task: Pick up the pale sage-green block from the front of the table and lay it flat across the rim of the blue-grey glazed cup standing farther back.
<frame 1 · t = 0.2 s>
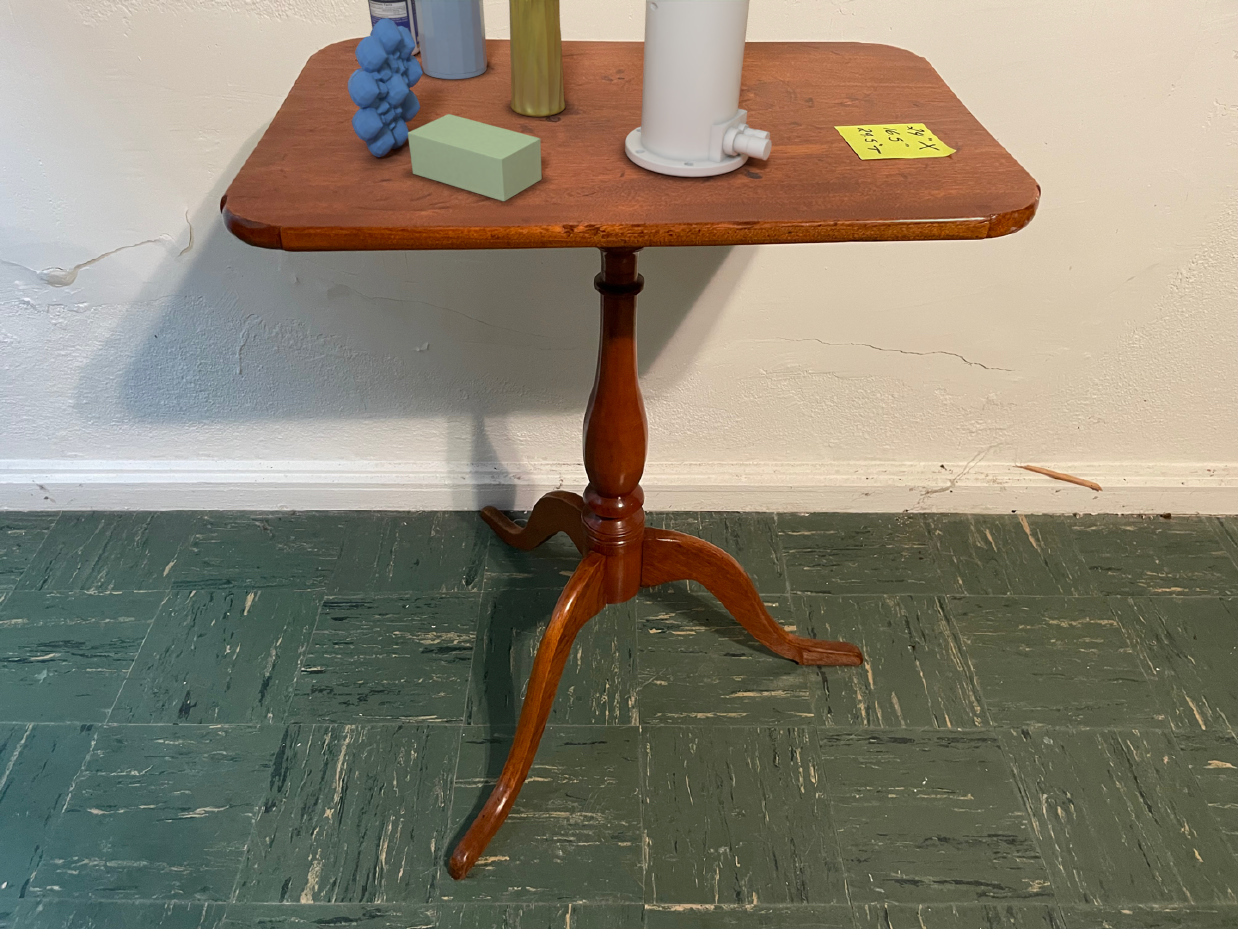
vase: (538, 109, 103), on the table
pill bottle: (398, 53, 117), on the table
grapes: (387, 148, 94), on the table
cup: (454, 68, 113), on the table
pale sage-green block: (477, 176, 89), on the table
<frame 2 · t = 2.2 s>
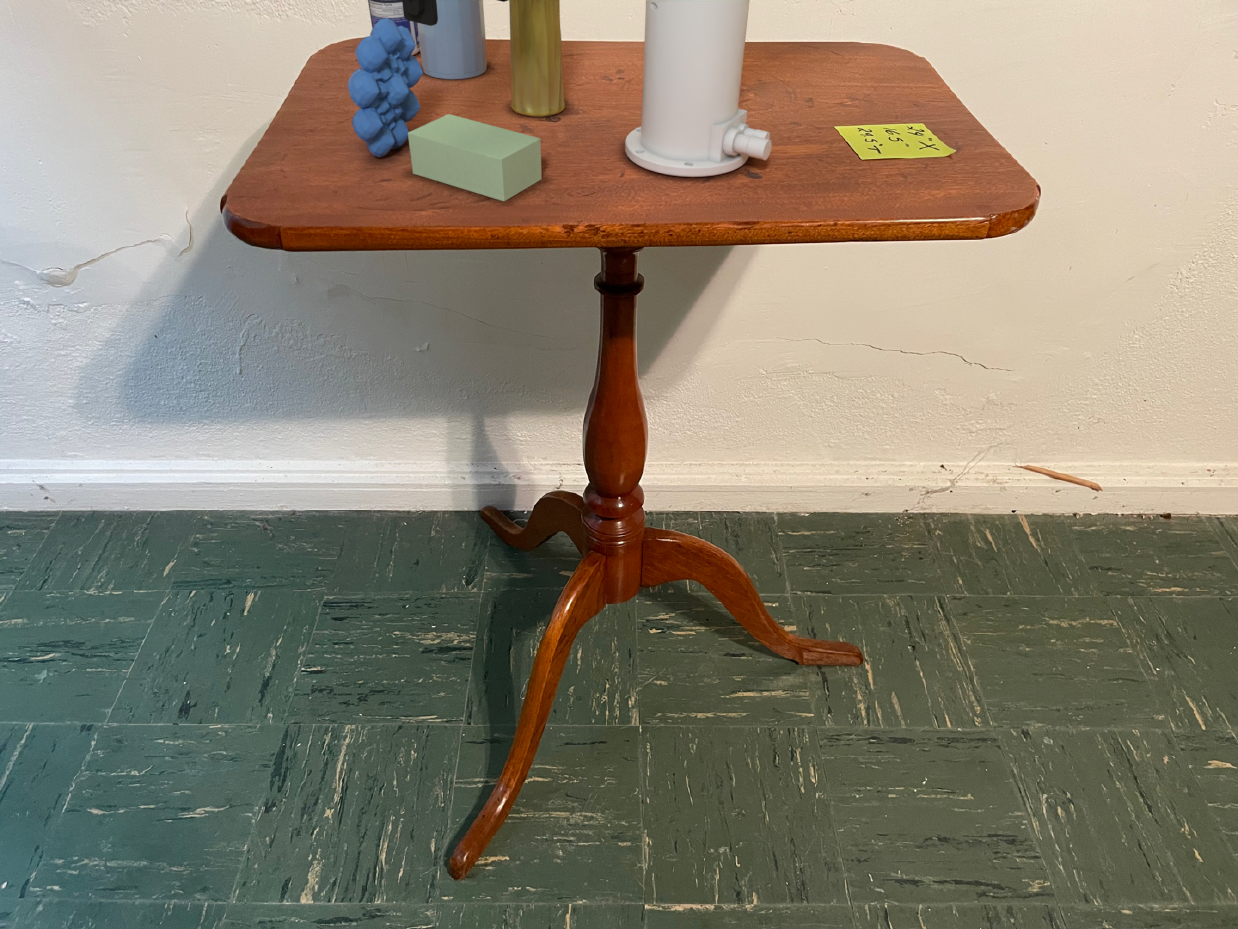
hand: (459, 9, 79), 15 cm above the table, tool pointing down, fingers open, 9 cm apart
nothing on the table moved.
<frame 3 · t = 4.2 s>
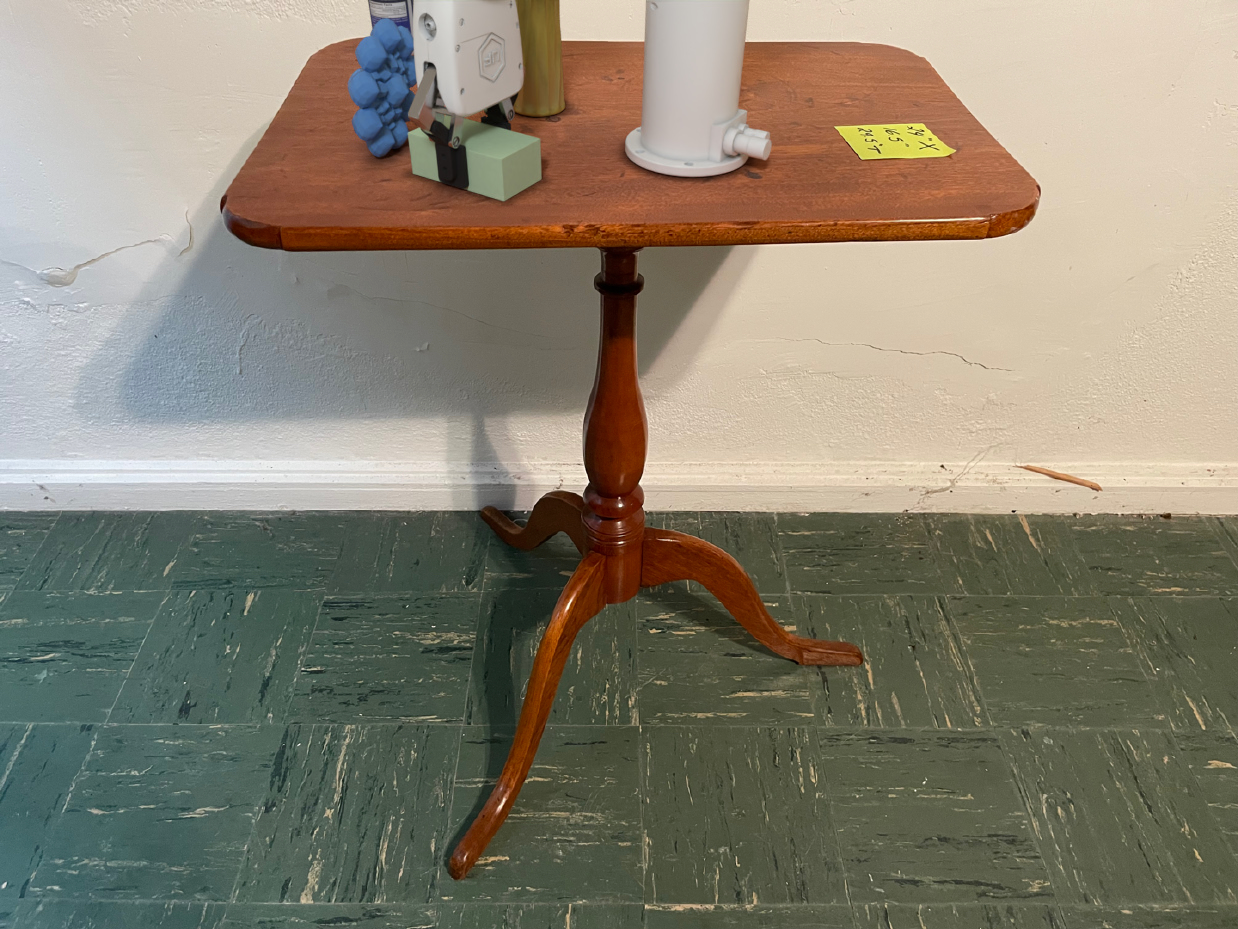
hand: (476, 170, 89), 1 cm above the table, tool pointing down, fingers closed on pale sage-green block, 6 cm apart
pale sage-green block: (477, 176, 89), on the table, touching gripper
everything else where it was.
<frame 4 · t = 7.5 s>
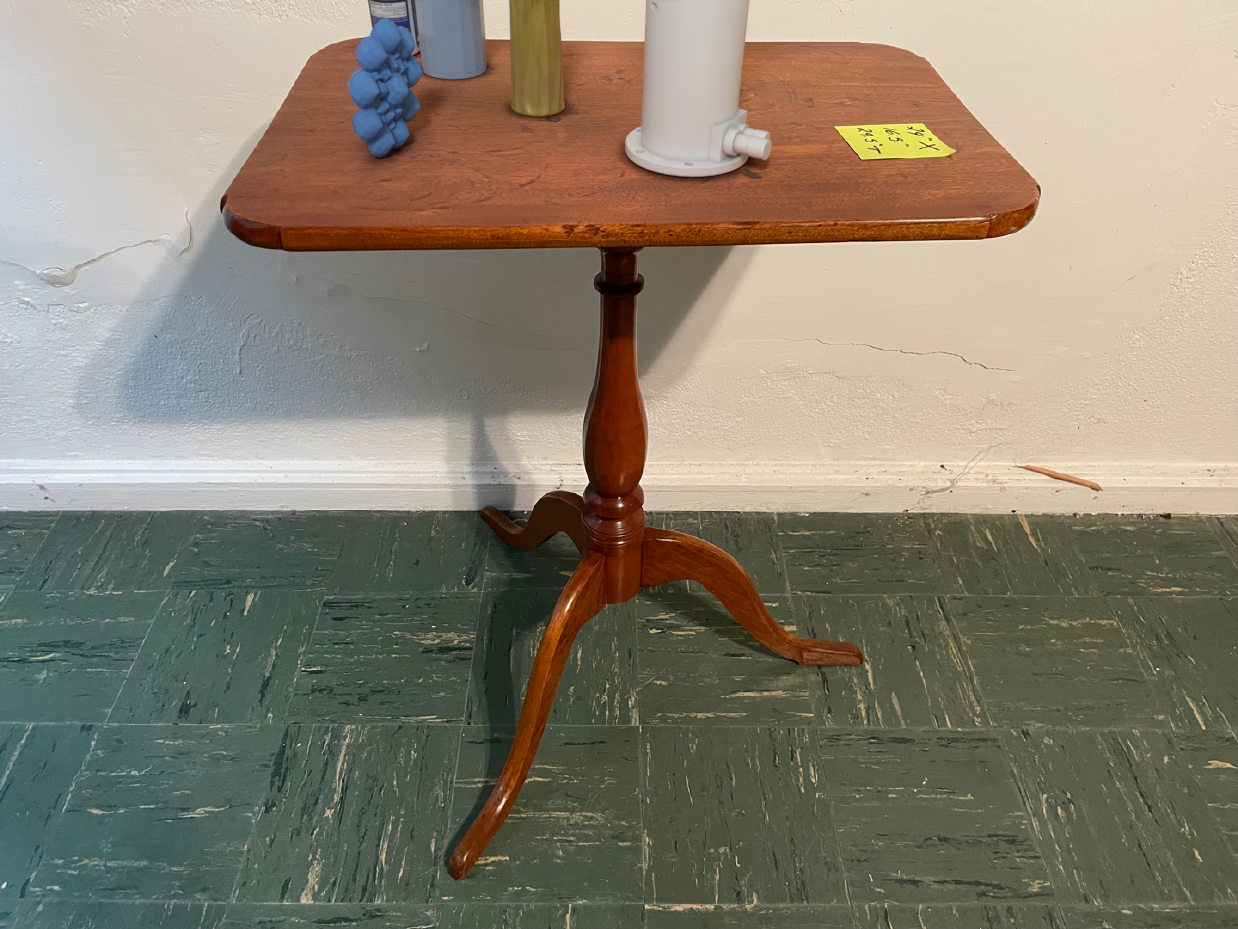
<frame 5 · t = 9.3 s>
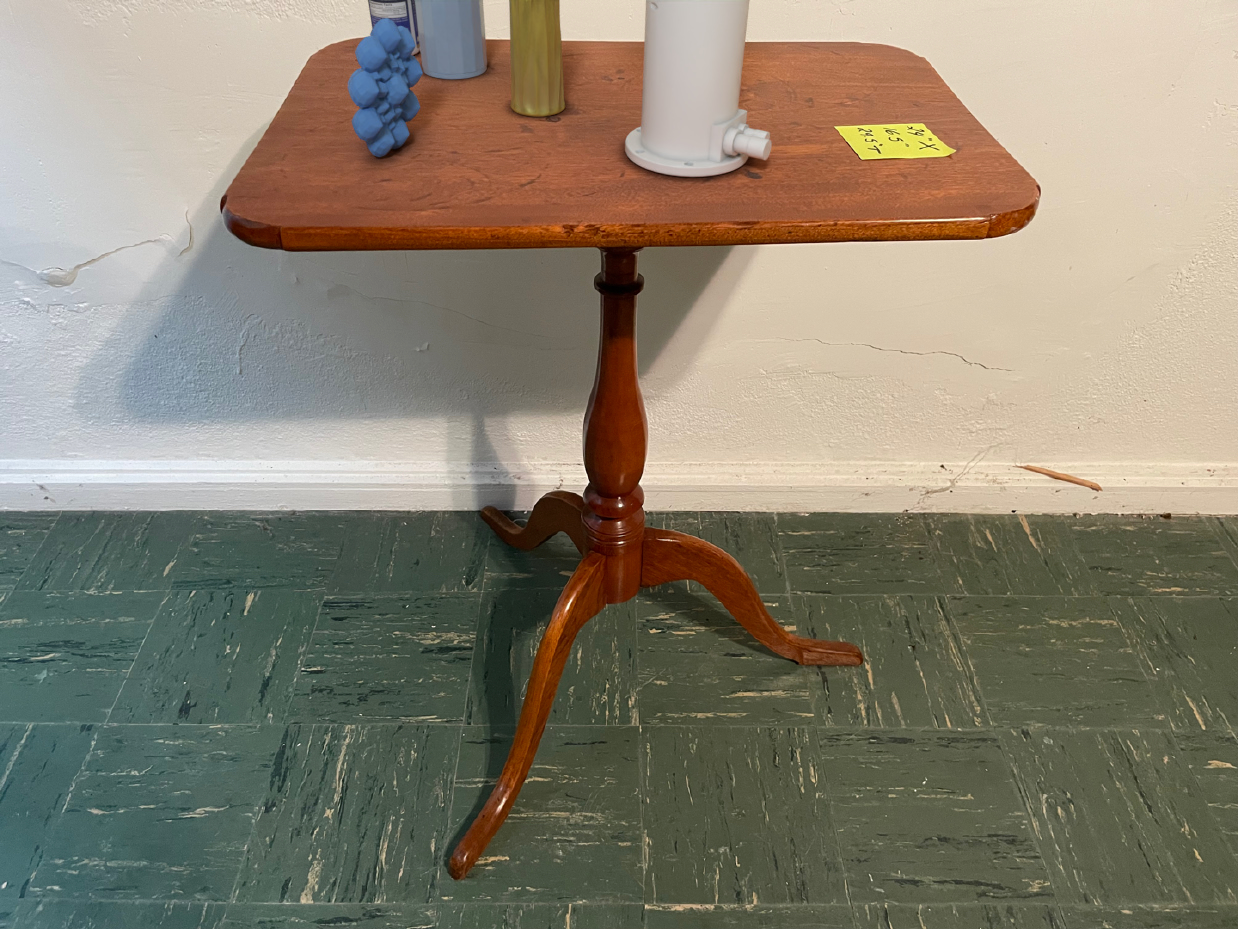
when the fingers open (10 cm above the table, at t = 10.8 s): pale sage-green block stays where it is, resting on cup.
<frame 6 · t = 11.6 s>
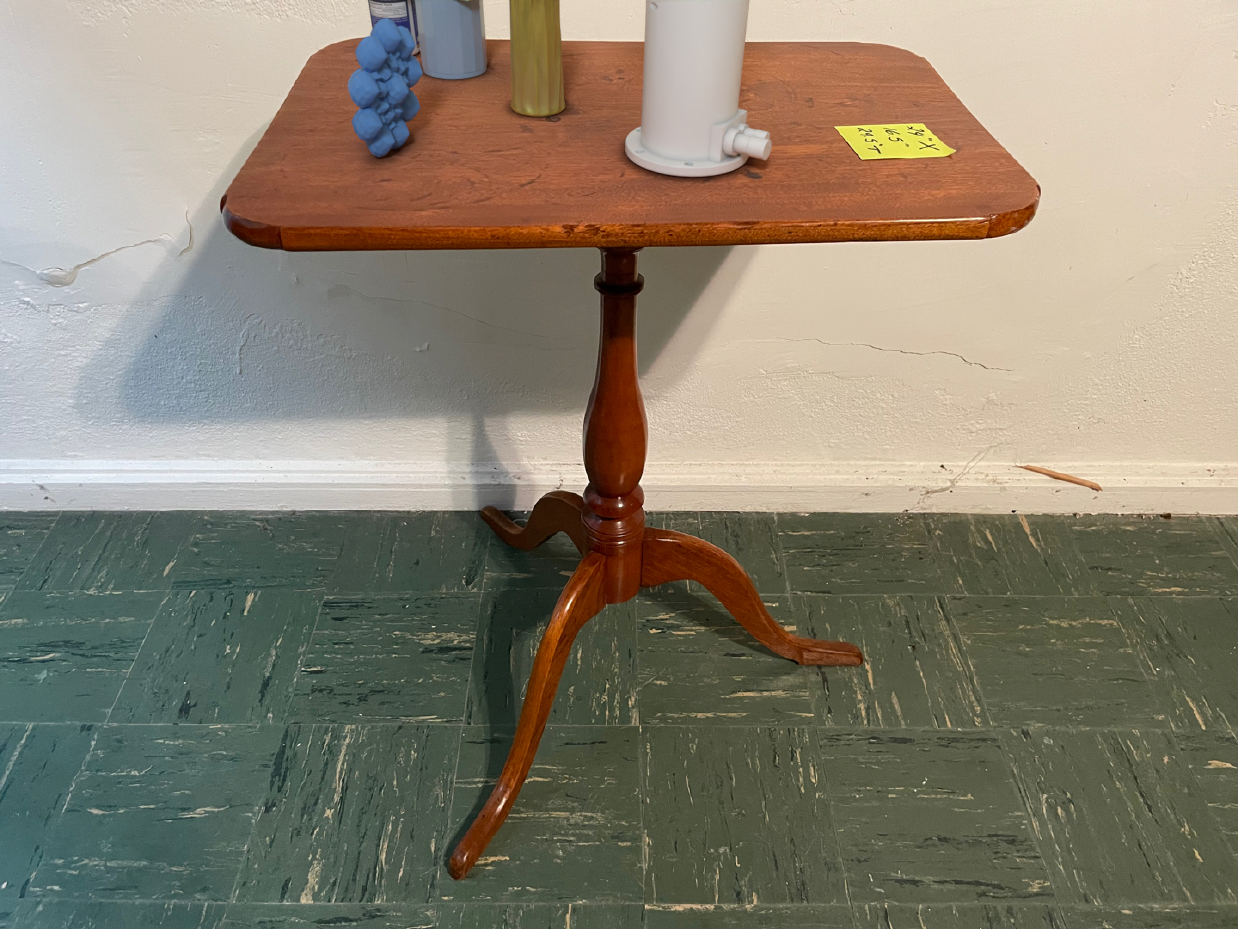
cup: (454, 68, 113), on the table, touching pale sage-green block
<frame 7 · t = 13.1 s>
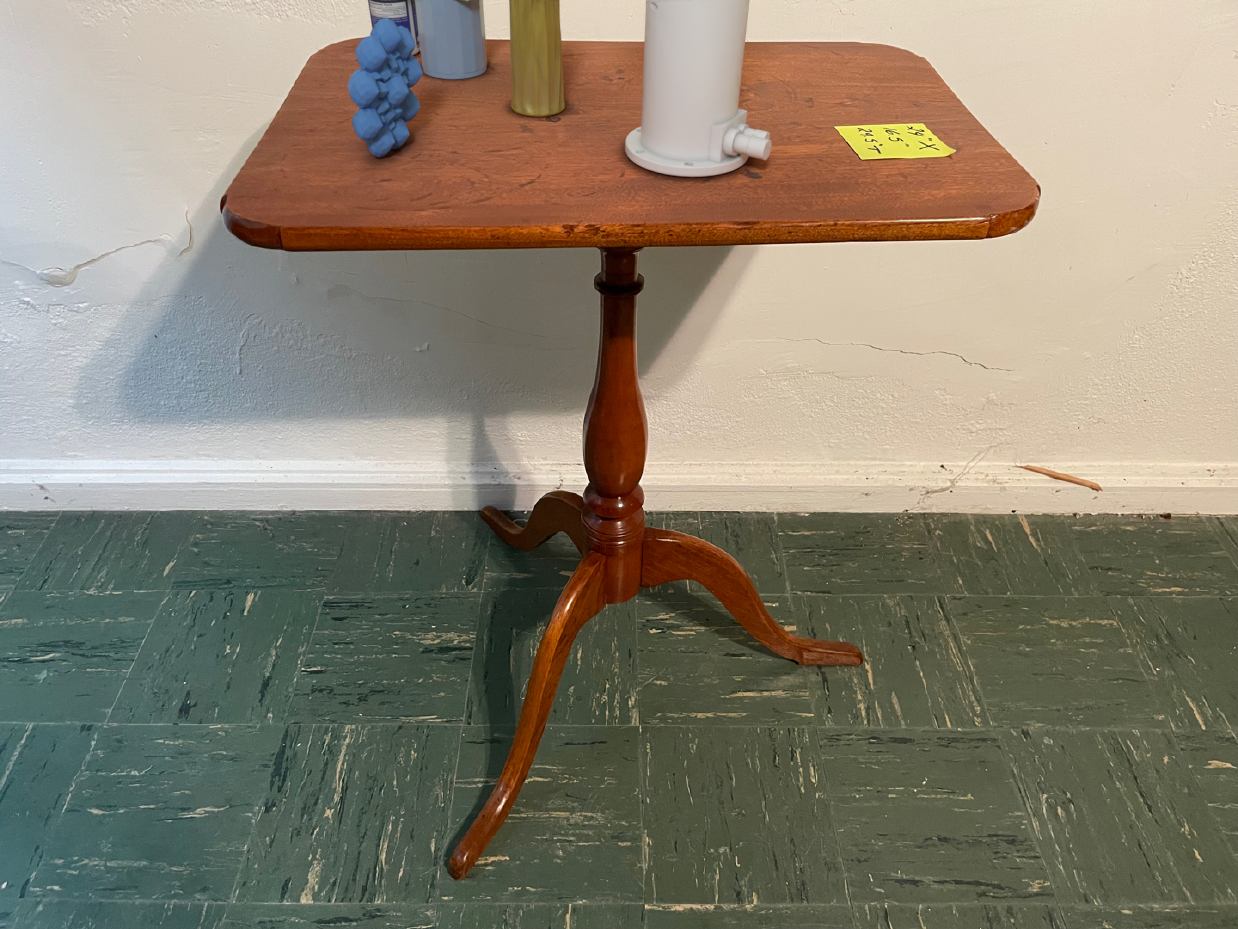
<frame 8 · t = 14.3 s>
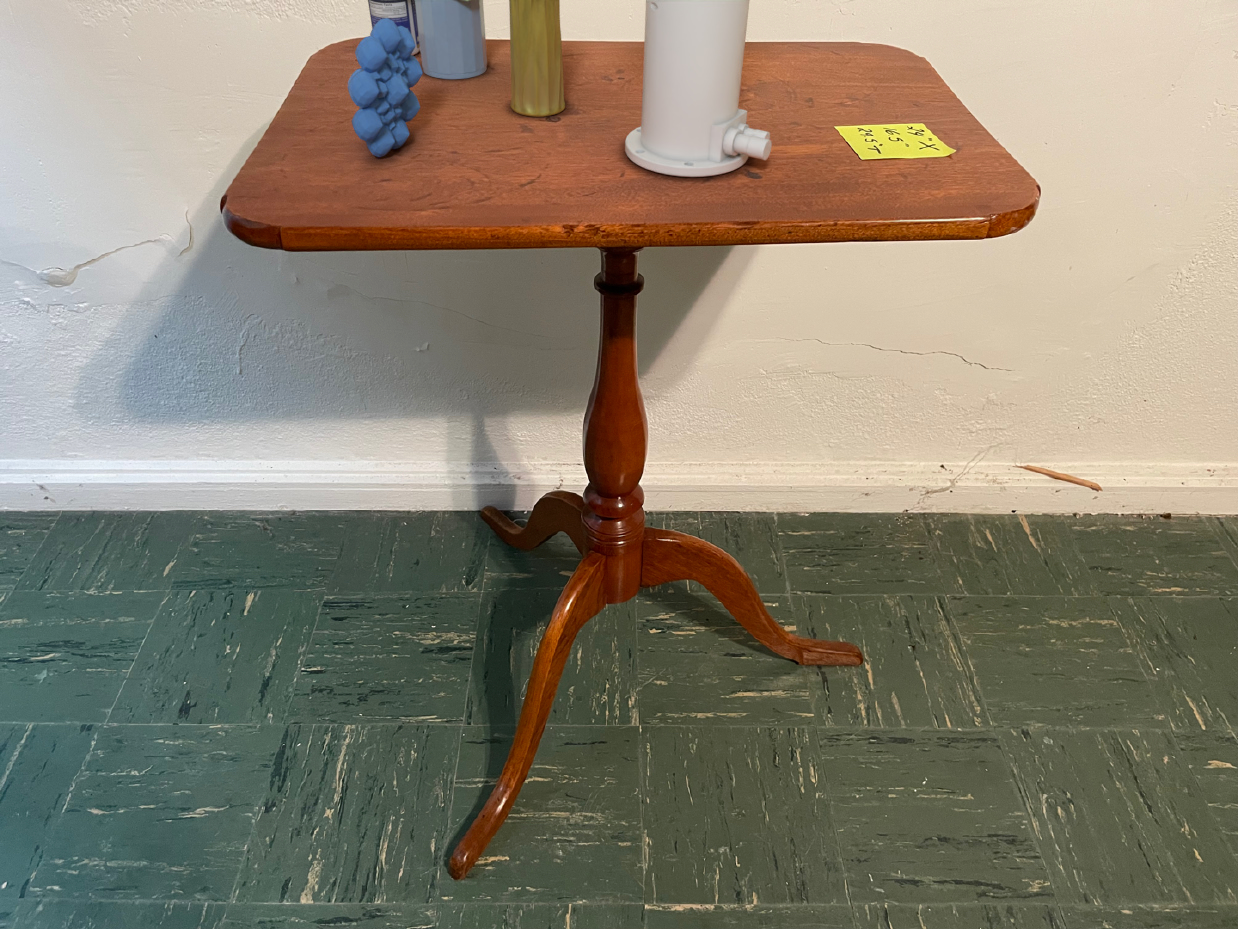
at the end: pale sage-green block 0.1 cm off-centre on the cup, point 9.0 cm above the cup's base; pale sage-green block tilted 0°; cup tilted 0° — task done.
